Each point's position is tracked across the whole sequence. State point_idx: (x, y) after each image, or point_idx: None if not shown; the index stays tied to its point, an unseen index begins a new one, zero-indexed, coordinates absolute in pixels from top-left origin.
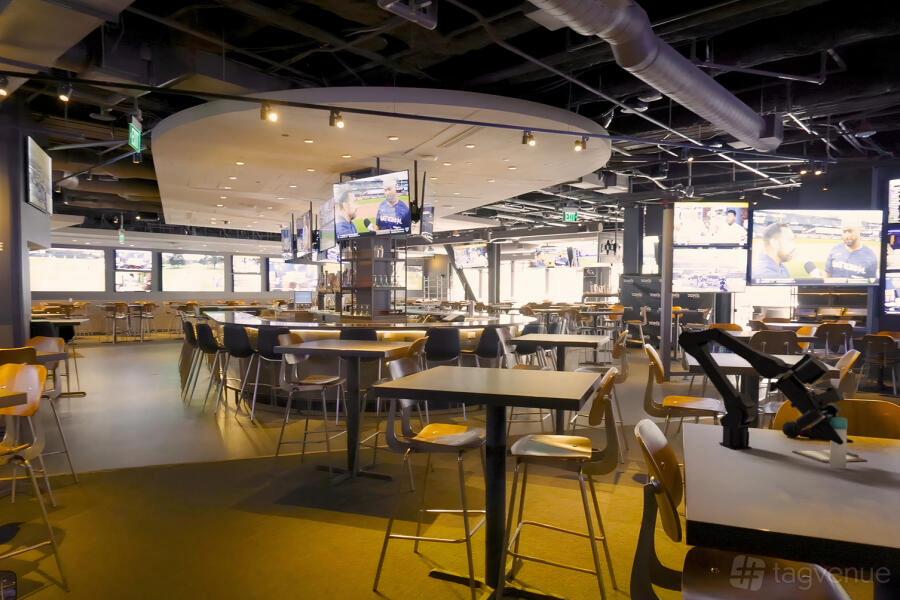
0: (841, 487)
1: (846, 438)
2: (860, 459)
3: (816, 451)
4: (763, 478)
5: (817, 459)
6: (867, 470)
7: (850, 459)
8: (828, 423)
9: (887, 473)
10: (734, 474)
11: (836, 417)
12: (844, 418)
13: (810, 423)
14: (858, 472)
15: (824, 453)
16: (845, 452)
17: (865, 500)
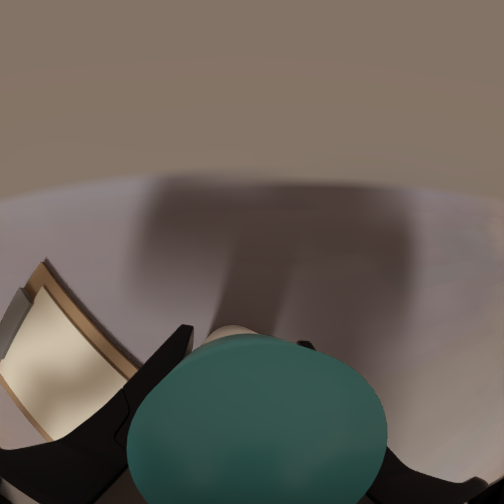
0: (469, 290)
1: (240, 332)
2: (47, 281)
3: (49, 424)
4: (487, 424)
5: None
6: (192, 251)
7: (68, 315)
8: (407, 471)
9: (189, 190)
10: (483, 462)
11: (199, 500)
12: (186, 399)
13: (493, 482)
14: (260, 277)
15: (55, 401)
16: (248, 329)
17: (497, 238)
